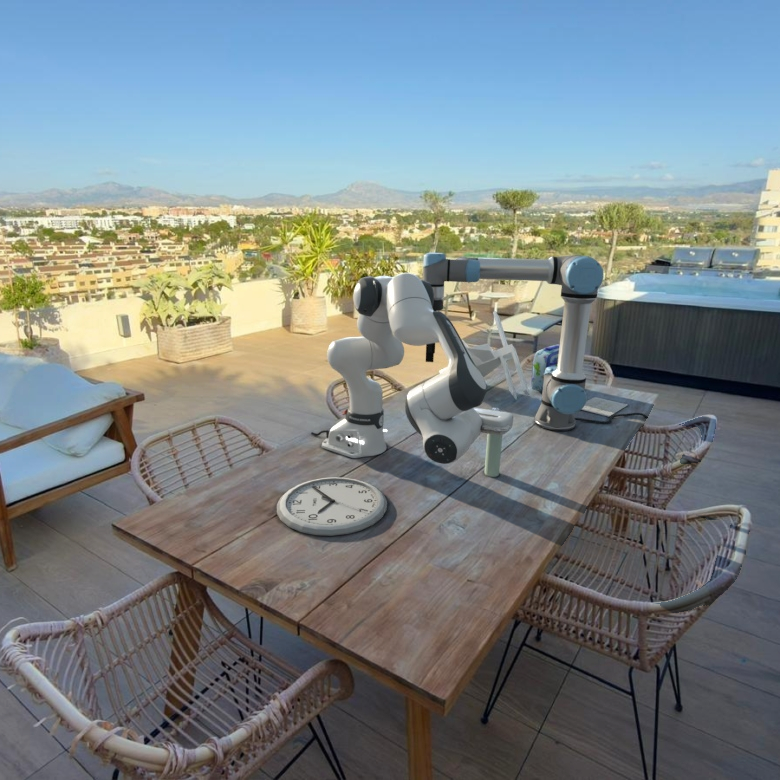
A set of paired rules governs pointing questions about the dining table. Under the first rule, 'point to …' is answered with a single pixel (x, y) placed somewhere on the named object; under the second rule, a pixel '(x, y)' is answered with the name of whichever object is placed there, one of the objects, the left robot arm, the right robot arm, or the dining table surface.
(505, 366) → the white plastic object
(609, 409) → the invitation card
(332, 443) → the left robot arm
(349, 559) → the dining table surface
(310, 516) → the wall clock
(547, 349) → the lunch box
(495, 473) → the jar
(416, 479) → the dining table surface
